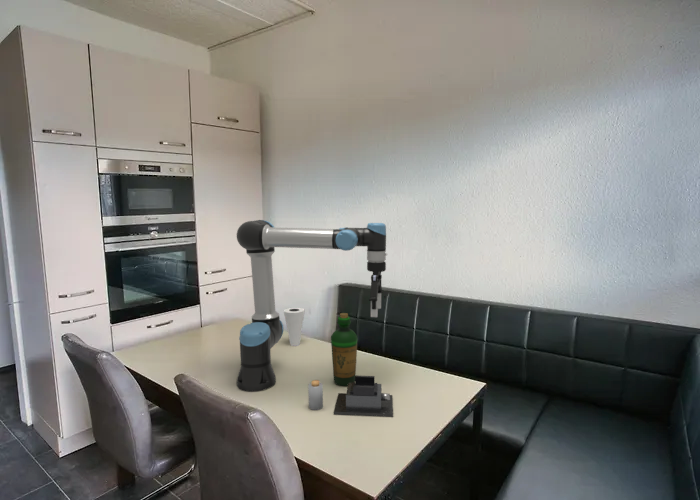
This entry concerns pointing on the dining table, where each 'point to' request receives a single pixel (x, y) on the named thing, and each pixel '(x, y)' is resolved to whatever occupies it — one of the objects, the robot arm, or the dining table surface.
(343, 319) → the bottle
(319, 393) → the grey cylinder with ball
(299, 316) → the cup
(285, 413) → the dining table surface
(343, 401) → the stepped square mount
